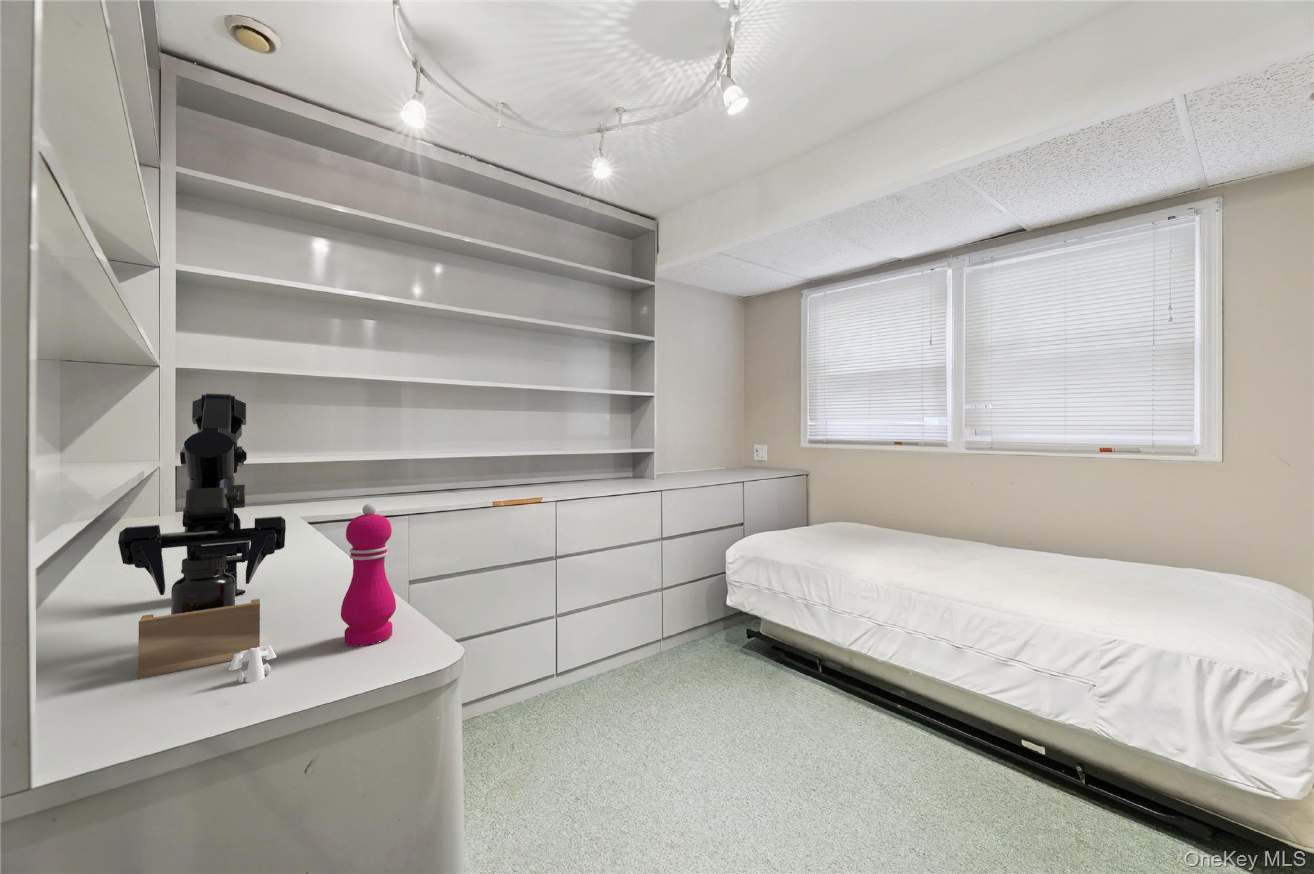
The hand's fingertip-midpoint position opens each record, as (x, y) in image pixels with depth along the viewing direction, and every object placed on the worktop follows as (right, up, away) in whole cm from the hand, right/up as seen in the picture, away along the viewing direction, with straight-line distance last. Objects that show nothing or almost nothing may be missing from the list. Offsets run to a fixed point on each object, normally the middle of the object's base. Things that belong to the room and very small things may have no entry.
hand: (206, 587), depth 75 cm
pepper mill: (+21, -9, +4) cm, 23 cm away
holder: (+1, -9, -1) cm, 9 cm away
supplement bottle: (0, -8, -1) cm, 8 cm away
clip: (+14, -9, -9) cm, 19 cm away
